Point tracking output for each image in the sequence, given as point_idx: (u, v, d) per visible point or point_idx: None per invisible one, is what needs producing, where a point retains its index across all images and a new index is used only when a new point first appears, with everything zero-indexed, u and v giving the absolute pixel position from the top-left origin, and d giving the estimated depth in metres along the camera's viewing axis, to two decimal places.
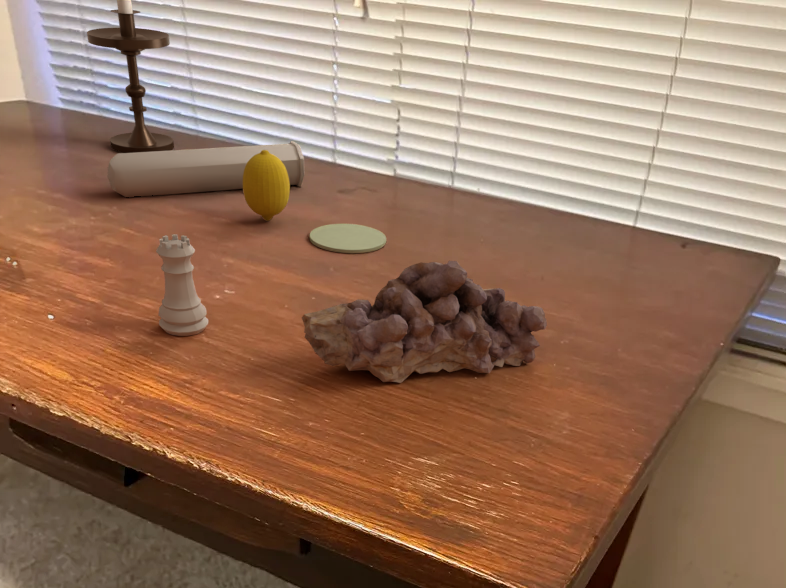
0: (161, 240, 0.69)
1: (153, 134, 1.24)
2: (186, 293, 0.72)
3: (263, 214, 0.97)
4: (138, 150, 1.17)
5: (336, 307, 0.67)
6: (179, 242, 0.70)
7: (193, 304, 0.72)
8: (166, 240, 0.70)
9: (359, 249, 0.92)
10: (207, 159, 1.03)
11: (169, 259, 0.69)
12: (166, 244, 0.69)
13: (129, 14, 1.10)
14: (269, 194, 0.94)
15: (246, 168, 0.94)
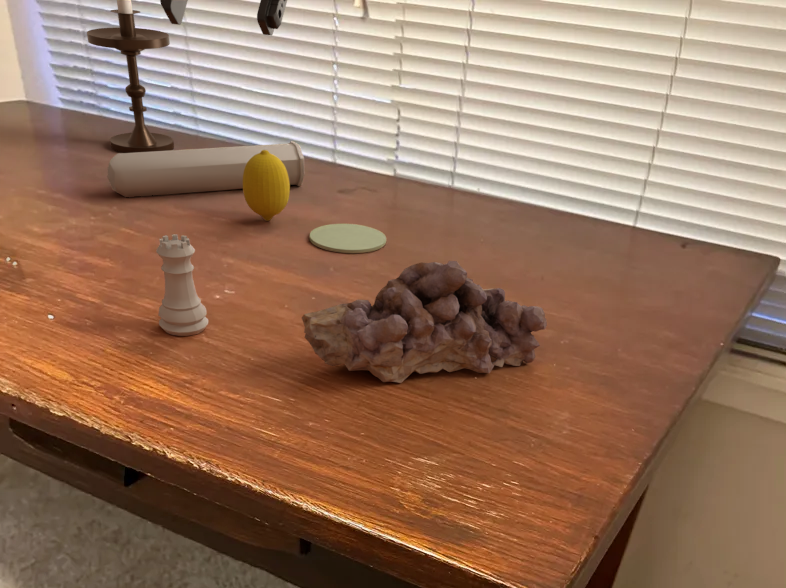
0: (161, 240, 0.69)
1: (153, 134, 1.24)
2: (186, 293, 0.72)
3: (263, 214, 0.97)
4: (138, 150, 1.17)
5: (336, 307, 0.67)
6: (179, 242, 0.70)
7: (193, 304, 0.72)
8: (166, 240, 0.70)
9: (359, 249, 0.92)
10: (207, 159, 1.03)
11: (169, 259, 0.69)
12: (166, 244, 0.69)
13: (129, 14, 1.10)
14: (269, 194, 0.94)
15: (246, 168, 0.94)
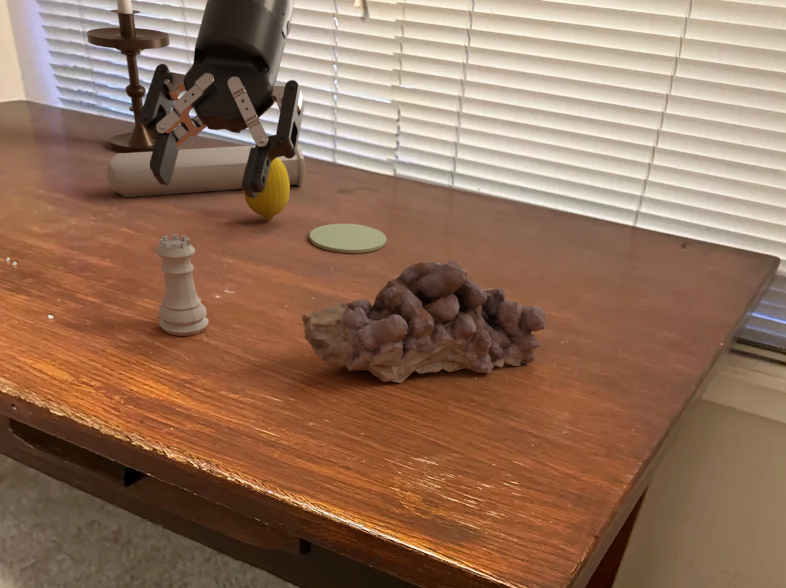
0: (161, 240, 0.69)
1: None
2: (186, 293, 0.72)
3: (263, 214, 0.97)
4: (138, 150, 1.17)
5: (336, 307, 0.67)
6: (179, 242, 0.70)
7: (193, 304, 0.72)
8: (166, 240, 0.70)
9: (359, 249, 0.92)
10: (207, 159, 1.03)
11: (169, 258, 0.69)
12: (166, 244, 0.69)
13: (129, 14, 1.10)
14: (269, 194, 0.94)
15: None
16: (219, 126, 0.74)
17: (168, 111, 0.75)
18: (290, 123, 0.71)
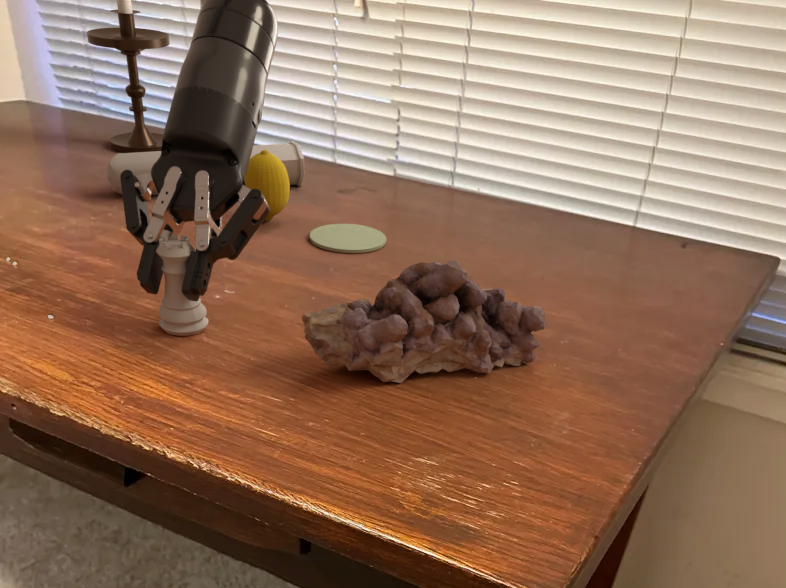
0: (161, 240, 0.69)
1: (153, 134, 1.24)
2: None
3: None
4: (138, 150, 1.17)
5: (336, 307, 0.67)
6: (179, 242, 0.70)
7: (193, 304, 0.72)
8: (166, 240, 0.70)
9: (359, 249, 0.92)
10: None
11: (169, 258, 0.69)
12: (166, 244, 0.69)
13: (129, 14, 1.10)
14: (269, 194, 0.94)
15: None
16: (188, 218, 0.72)
17: (147, 213, 0.73)
18: (236, 231, 0.69)
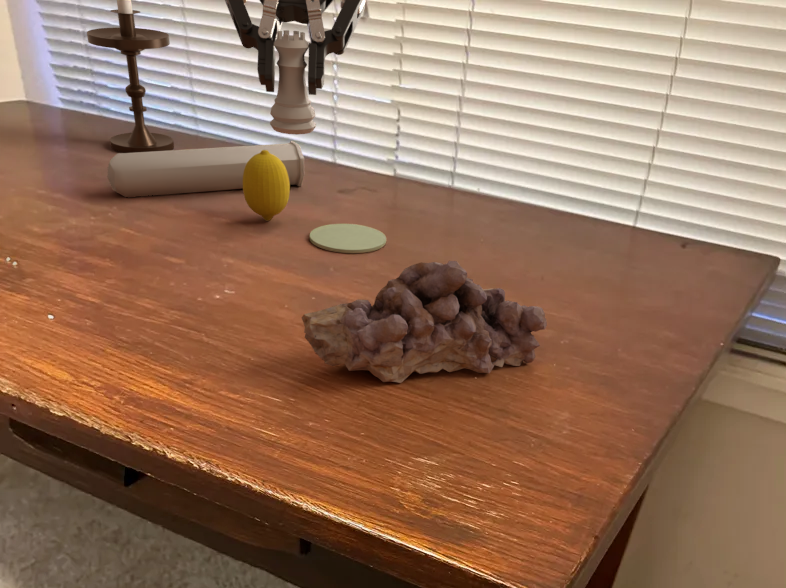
0: (280, 33, 0.73)
1: (153, 134, 1.24)
2: (302, 89, 0.75)
3: (263, 214, 0.97)
4: (138, 150, 1.17)
5: (336, 307, 0.67)
6: None
7: (307, 101, 0.76)
8: None
9: (359, 249, 0.92)
10: (207, 159, 1.03)
11: (291, 50, 0.73)
12: (288, 35, 0.72)
13: (129, 14, 1.10)
14: (269, 194, 0.94)
15: (246, 168, 0.94)
16: (290, 17, 0.75)
17: None
18: (349, 21, 0.74)
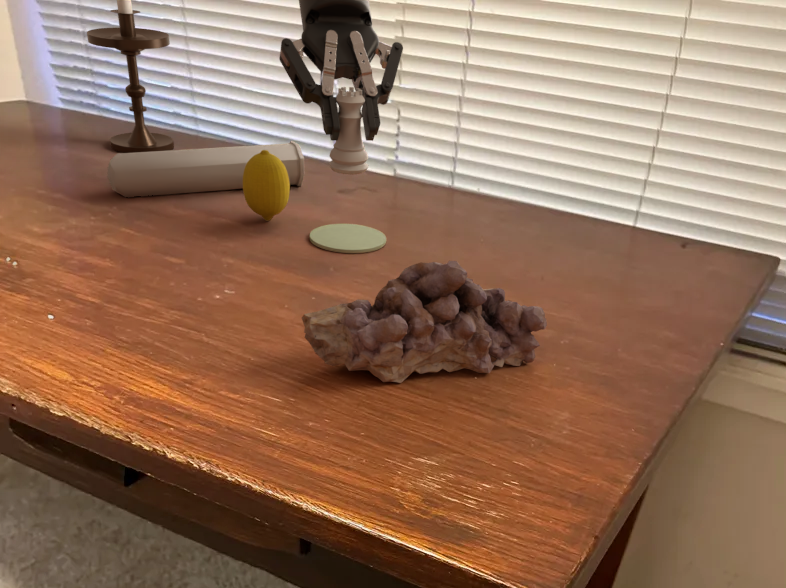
0: (343, 91, 0.85)
1: (153, 134, 1.24)
2: (360, 136, 0.88)
3: (263, 214, 0.97)
4: (138, 150, 1.17)
5: (336, 307, 0.67)
6: (352, 92, 0.86)
7: (363, 145, 0.89)
8: None
9: (359, 249, 0.92)
10: (207, 159, 1.03)
11: (354, 105, 0.86)
12: (350, 92, 0.85)
13: (129, 14, 1.10)
14: (269, 194, 0.94)
15: (246, 168, 0.94)
16: (340, 75, 0.88)
17: None
18: (394, 77, 0.87)
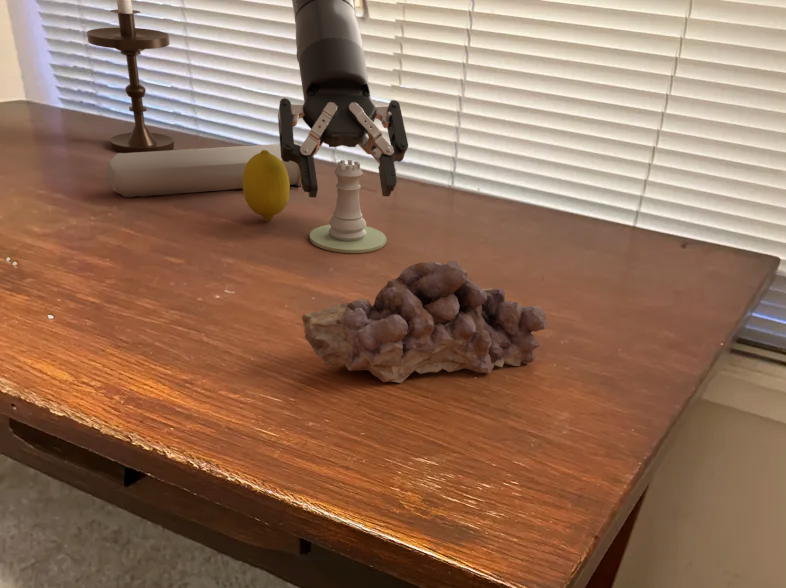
0: (342, 165, 0.90)
1: (153, 134, 1.24)
2: (358, 205, 0.93)
3: (263, 214, 0.97)
4: (138, 150, 1.17)
5: (336, 307, 0.67)
6: (351, 165, 0.91)
7: (361, 214, 0.94)
8: None
9: (359, 249, 0.92)
10: (207, 159, 1.03)
11: (352, 178, 0.90)
12: (349, 167, 0.90)
13: (129, 14, 1.10)
14: (269, 194, 0.94)
15: (246, 168, 0.94)
16: (340, 143, 0.92)
17: None
18: (405, 134, 0.92)
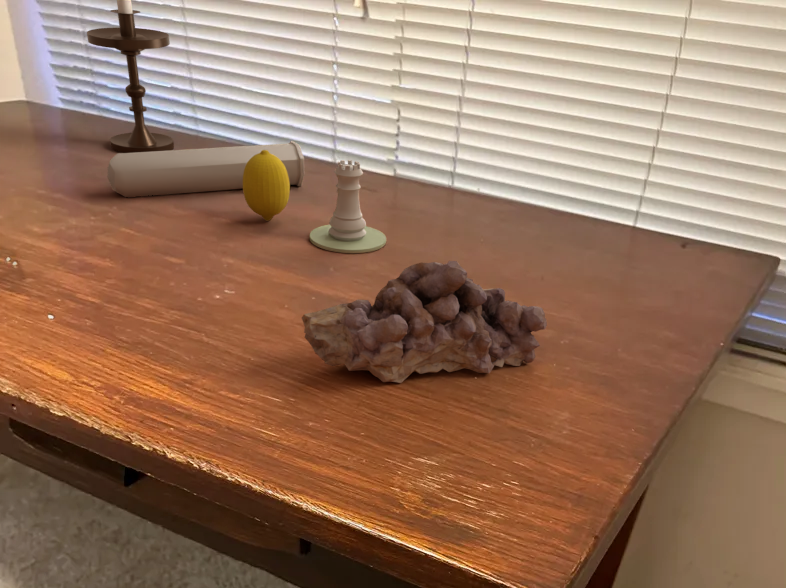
0: (342, 165, 0.90)
1: (153, 134, 1.24)
2: (358, 205, 0.93)
3: (263, 214, 0.97)
4: (138, 150, 1.17)
5: (336, 307, 0.67)
6: (351, 165, 0.91)
7: (361, 214, 0.94)
8: None
9: (359, 249, 0.92)
10: (207, 159, 1.03)
11: (352, 178, 0.90)
12: (349, 167, 0.90)
13: (129, 14, 1.10)
14: (269, 194, 0.94)
15: (246, 168, 0.94)
16: None
17: None
18: None
